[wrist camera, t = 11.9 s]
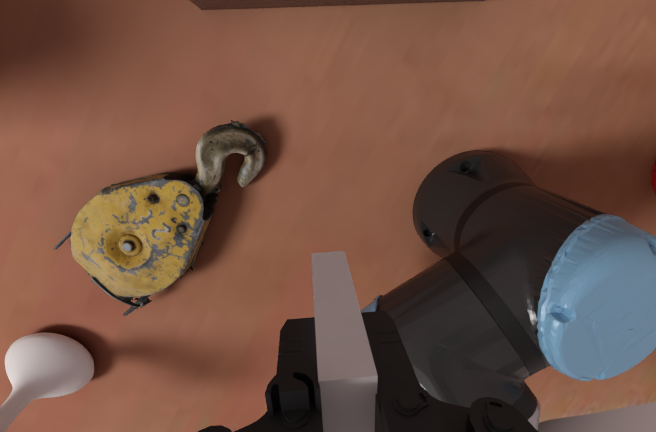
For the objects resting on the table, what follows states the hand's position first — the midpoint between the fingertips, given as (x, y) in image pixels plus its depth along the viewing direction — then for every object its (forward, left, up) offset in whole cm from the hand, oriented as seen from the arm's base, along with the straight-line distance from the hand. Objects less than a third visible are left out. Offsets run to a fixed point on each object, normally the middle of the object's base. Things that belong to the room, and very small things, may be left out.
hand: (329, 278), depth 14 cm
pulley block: (+14, +12, -27) cm, 33 cm away
